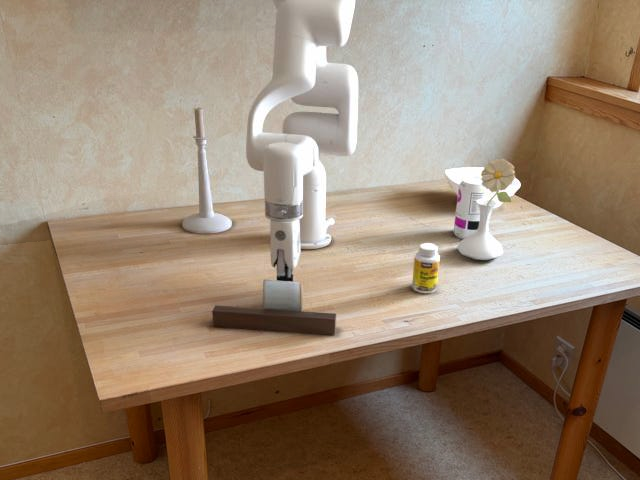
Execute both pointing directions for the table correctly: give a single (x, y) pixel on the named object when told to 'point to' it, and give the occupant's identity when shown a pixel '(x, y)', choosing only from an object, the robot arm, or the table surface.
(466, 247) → the flower in vase
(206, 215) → the candlestick
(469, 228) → the supplement can
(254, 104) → the robot arm
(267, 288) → the ceramic mug
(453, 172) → the bowl
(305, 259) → the table surface
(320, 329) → the board
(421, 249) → the supplement bottle
